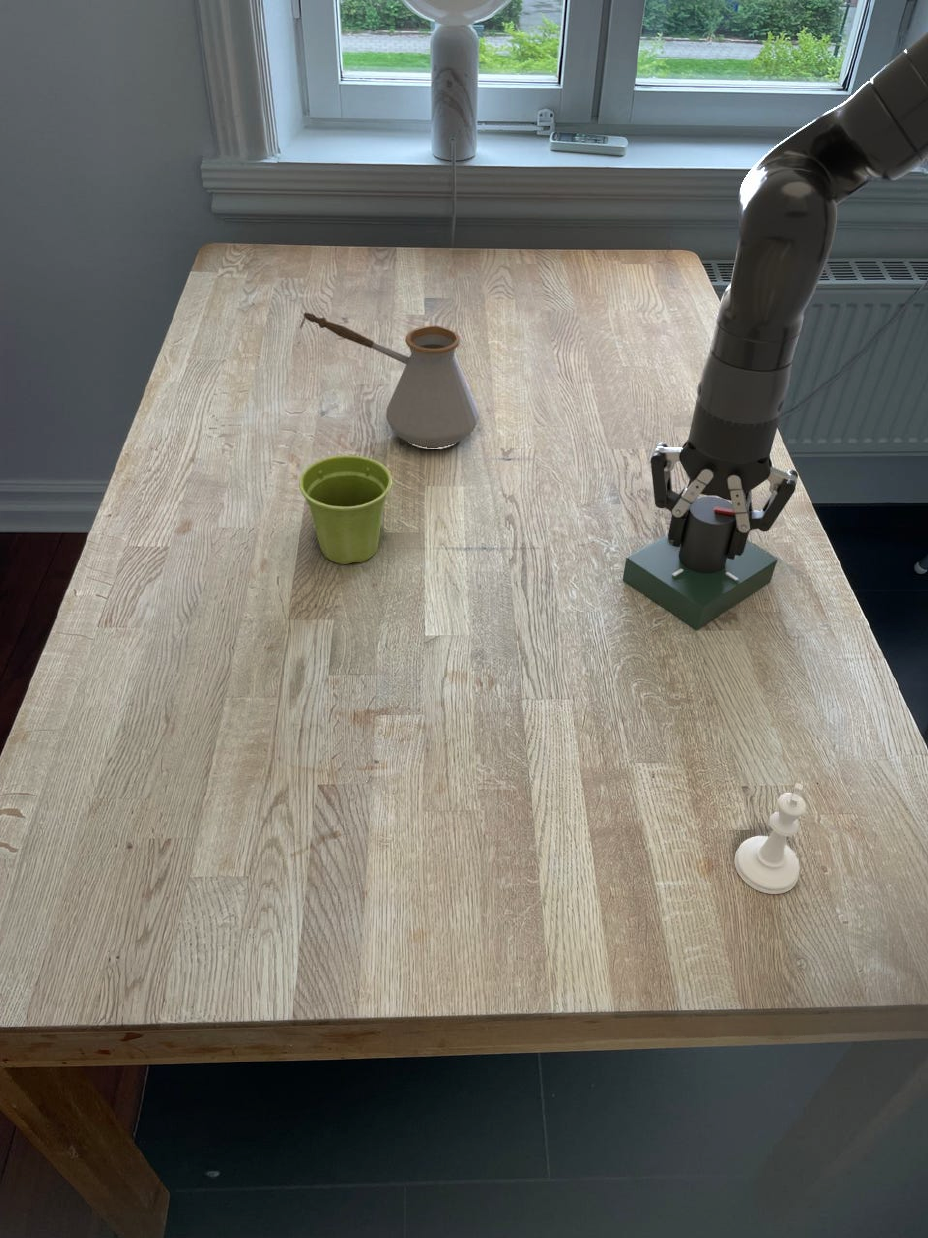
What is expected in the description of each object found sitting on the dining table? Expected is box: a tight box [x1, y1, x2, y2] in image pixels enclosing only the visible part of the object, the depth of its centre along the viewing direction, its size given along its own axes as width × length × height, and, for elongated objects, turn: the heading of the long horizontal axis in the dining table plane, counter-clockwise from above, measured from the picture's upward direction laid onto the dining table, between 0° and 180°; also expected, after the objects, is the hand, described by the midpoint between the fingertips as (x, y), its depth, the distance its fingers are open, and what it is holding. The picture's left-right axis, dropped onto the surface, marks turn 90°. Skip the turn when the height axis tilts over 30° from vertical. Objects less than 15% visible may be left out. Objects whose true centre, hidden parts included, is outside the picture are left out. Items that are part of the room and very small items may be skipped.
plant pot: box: [298, 454, 393, 565], centre depth 101 cm, size 9×9×9 cm
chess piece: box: [733, 782, 807, 895], centre depth 72 cm, size 5×5×10 cm
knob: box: [679, 496, 737, 573], centre depth 97 cm, size 5×5×6 cm
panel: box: [622, 533, 778, 631], centre depth 100 cm, size 12×10×3 cm
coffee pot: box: [299, 311, 480, 448], centre depth 117 cm, size 21×12×15 cm, turn 85°
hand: (704, 547), depth 98 cm, fingers closed on knob, 5 cm apart
